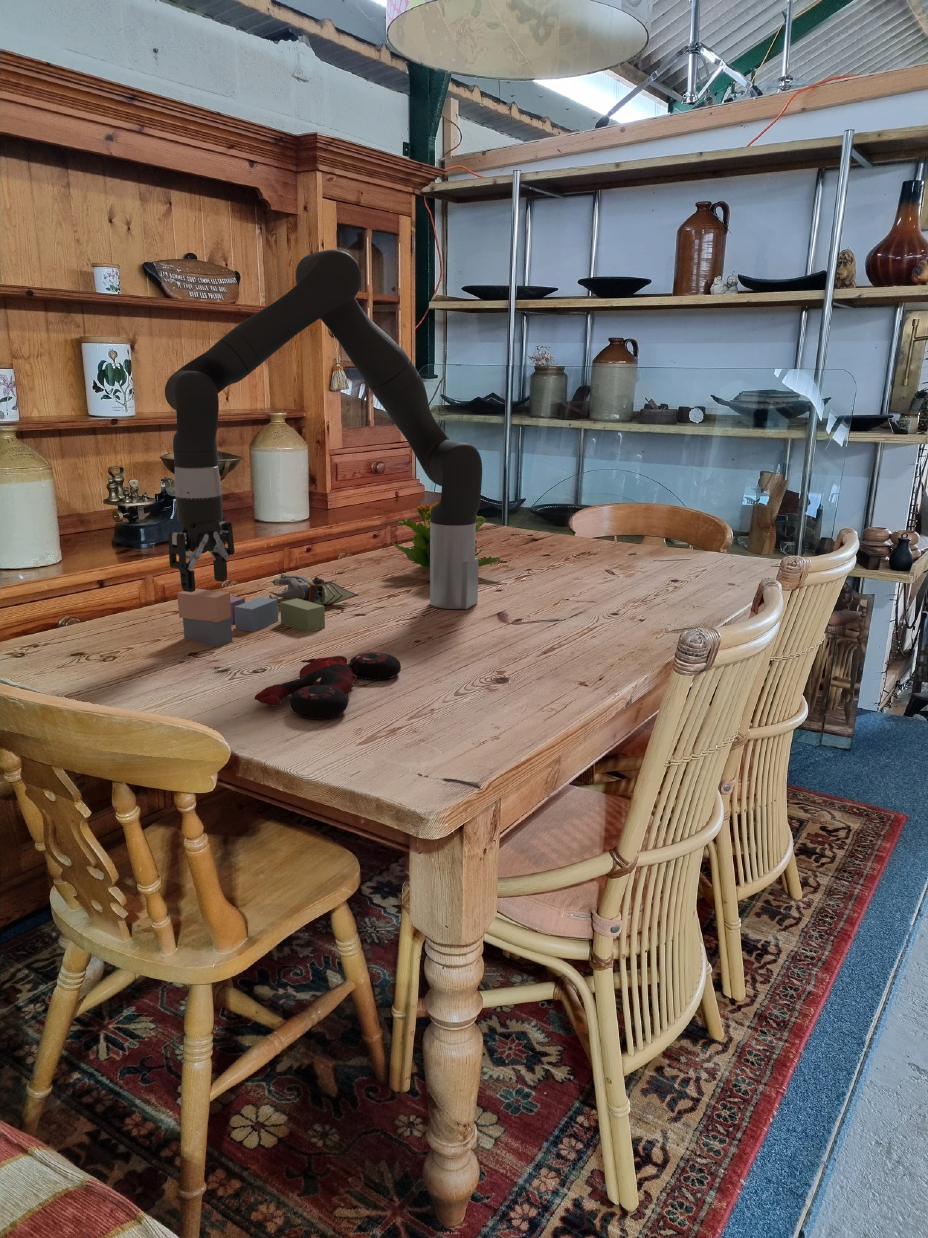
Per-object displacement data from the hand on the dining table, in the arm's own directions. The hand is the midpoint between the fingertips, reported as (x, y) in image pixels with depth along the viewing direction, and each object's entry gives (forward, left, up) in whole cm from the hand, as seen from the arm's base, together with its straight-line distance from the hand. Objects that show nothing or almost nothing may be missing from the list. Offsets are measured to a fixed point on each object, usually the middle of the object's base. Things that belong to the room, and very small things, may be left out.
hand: (205, 586), depth 152 cm
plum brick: (+6, -12, -10) cm, 17 cm away
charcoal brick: (0, 0, -10) cm, 10 cm away
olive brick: (-10, -15, -10) cm, 21 cm away
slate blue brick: (-2, -12, -10) cm, 15 cm away
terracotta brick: (0, 0, -6) cm, 6 cm away
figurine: (-3, -31, -10) cm, 32 cm away
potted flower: (-18, -67, -10) cm, 70 cm away
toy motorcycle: (-32, +13, -10) cm, 36 cm away
